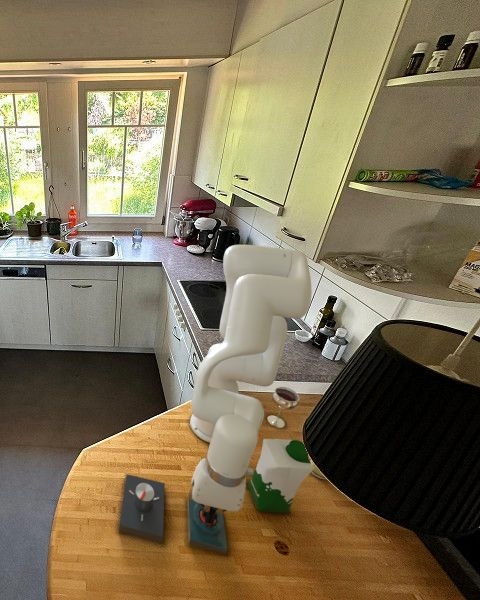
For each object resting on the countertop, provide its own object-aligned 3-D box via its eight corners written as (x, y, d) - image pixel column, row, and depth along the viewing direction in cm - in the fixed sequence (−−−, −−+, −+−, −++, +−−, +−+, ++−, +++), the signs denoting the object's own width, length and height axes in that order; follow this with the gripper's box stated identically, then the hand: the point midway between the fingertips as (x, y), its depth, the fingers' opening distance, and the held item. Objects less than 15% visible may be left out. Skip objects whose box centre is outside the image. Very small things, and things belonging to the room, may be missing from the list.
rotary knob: (138, 490, 82) (140, 478, 80) (155, 500, 80) (157, 488, 78) (131, 505, 79) (132, 493, 77) (148, 515, 77) (150, 504, 75)
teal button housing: (187, 501, 83) (189, 492, 81) (220, 509, 81) (223, 500, 79) (188, 544, 74) (191, 534, 72) (225, 554, 73) (229, 545, 71)
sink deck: (125, 480, 88) (126, 473, 86) (163, 490, 85) (164, 482, 84) (118, 531, 77) (119, 524, 75) (161, 544, 74) (163, 536, 73)
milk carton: (293, 517, 79) (321, 465, 70) (255, 515, 80) (279, 463, 70) (276, 482, 87) (299, 431, 78) (242, 481, 88) (261, 430, 78)
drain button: (198, 510, 79) (199, 506, 78) (214, 514, 78) (215, 510, 77) (199, 526, 75) (200, 522, 75) (215, 530, 75) (217, 526, 74)
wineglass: (271, 430, 102) (282, 402, 97) (260, 413, 108) (270, 386, 103) (292, 429, 102) (304, 402, 97) (280, 413, 108) (291, 386, 103)
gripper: (259, 459, 69) (239, 509, 77) (186, 444, 72) (175, 494, 80) (268, 493, 62) (245, 544, 71) (187, 475, 65) (175, 525, 74)
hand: (208, 517), depth 76 cm, fingers closed
